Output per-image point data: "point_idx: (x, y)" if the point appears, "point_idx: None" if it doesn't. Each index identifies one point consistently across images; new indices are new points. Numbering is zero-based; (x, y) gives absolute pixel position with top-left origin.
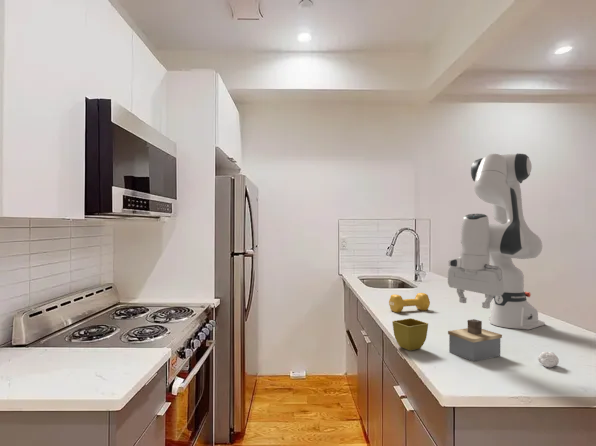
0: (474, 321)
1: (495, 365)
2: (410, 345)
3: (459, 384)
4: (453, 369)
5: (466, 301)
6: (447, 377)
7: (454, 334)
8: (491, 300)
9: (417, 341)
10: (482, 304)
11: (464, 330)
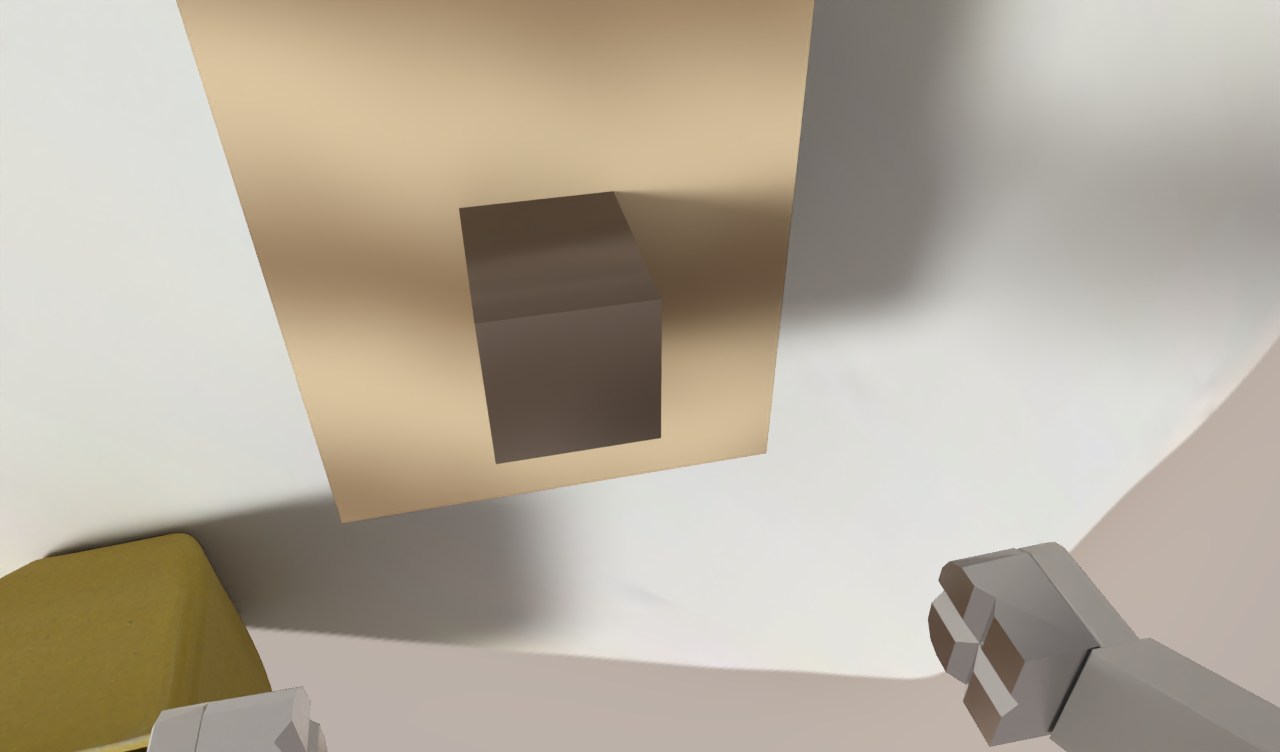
0: (622, 421)
1: (858, 187)
2: (265, 673)
3: (918, 593)
4: (741, 522)
5: (293, 708)
6: (817, 603)
7: (458, 489)
8: (1235, 692)
9: (244, 649)
10: (971, 699)
11: (374, 321)
